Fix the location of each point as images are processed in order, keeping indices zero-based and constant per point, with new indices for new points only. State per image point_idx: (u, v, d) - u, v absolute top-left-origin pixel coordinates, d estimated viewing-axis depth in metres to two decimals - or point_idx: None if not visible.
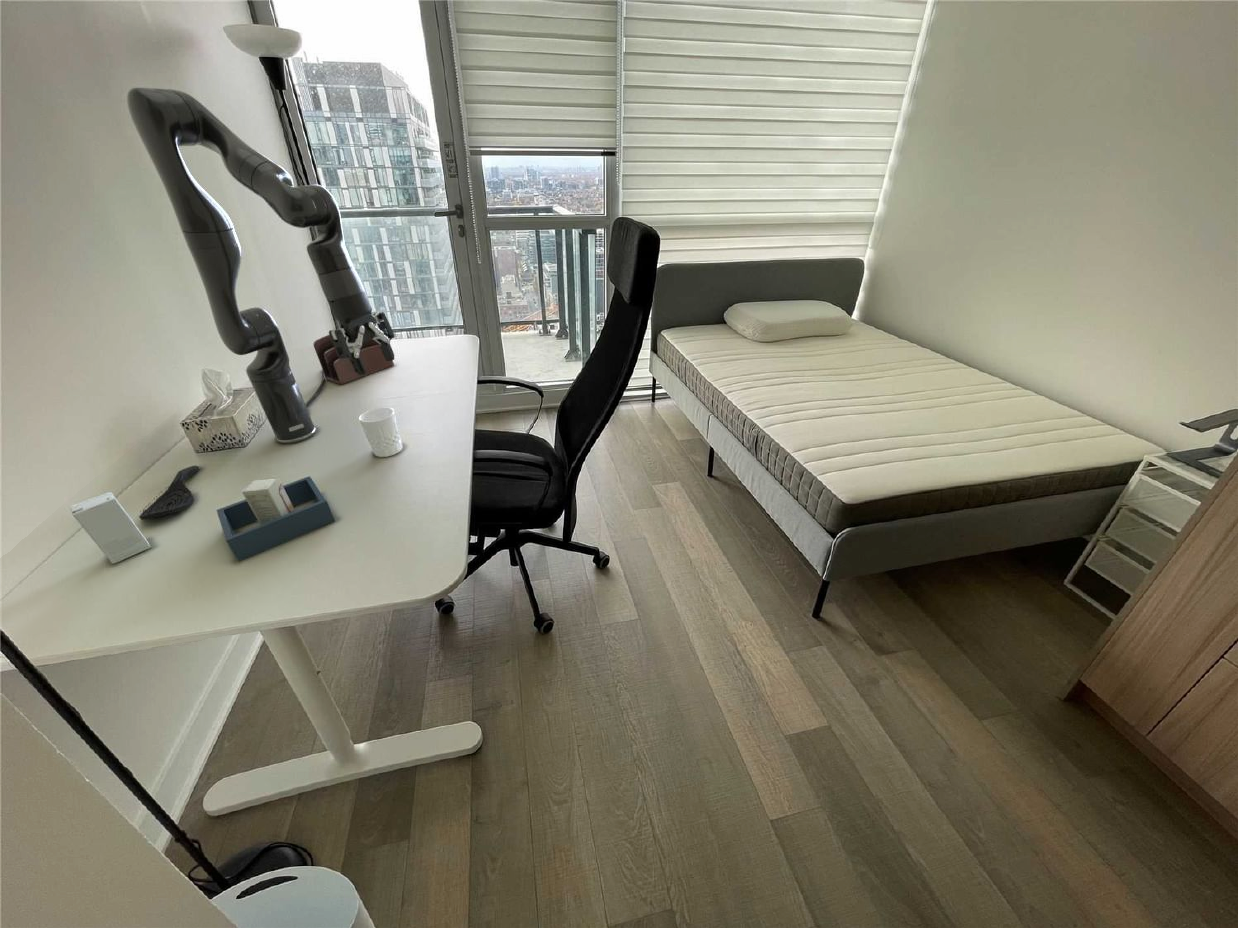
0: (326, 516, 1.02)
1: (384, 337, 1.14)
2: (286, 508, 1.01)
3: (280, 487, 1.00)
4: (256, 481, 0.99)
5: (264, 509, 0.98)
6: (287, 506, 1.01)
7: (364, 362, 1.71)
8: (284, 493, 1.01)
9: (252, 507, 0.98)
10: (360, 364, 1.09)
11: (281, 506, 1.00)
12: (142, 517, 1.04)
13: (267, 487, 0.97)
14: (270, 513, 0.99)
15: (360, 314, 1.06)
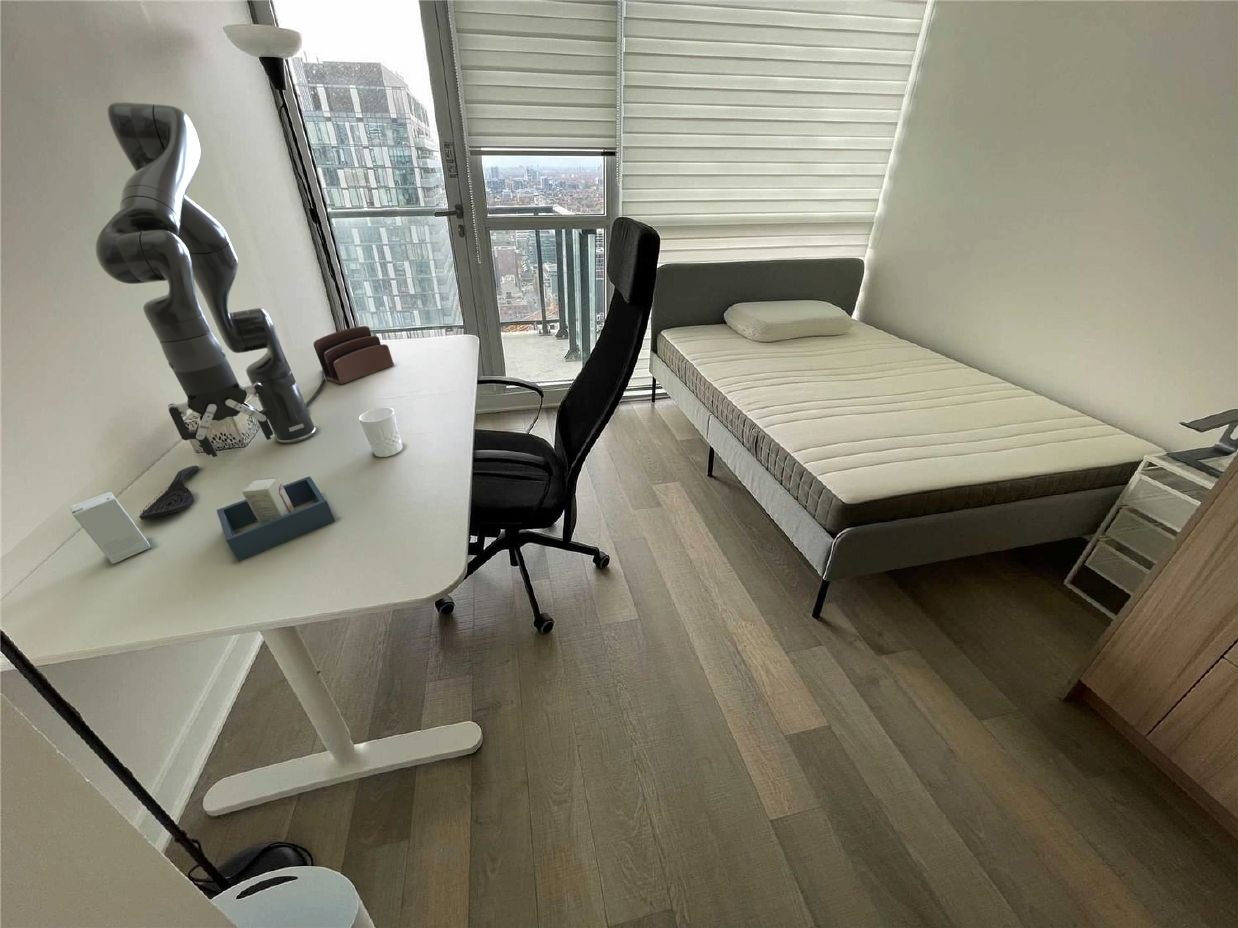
0: (326, 516, 1.02)
1: (256, 414, 0.92)
2: (286, 508, 1.01)
3: (280, 487, 1.00)
4: (256, 481, 0.99)
5: (264, 509, 0.98)
6: (287, 506, 1.01)
7: (364, 362, 1.71)
8: (284, 493, 1.01)
9: (252, 507, 0.98)
10: (207, 446, 0.89)
11: (281, 506, 1.00)
12: (142, 517, 1.04)
13: (267, 487, 0.97)
14: (270, 513, 0.99)
15: (203, 394, 0.84)
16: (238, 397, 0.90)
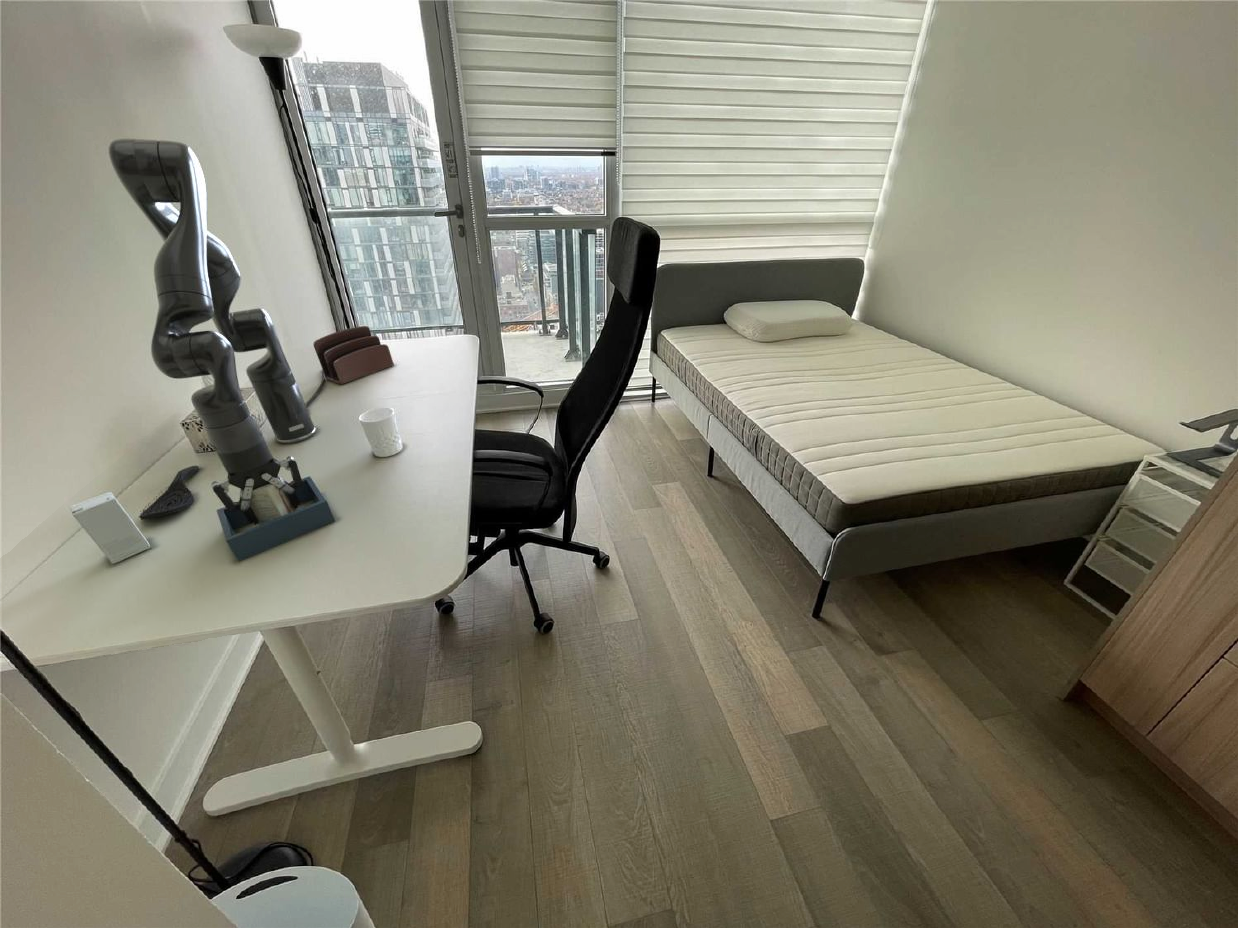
0: (326, 516, 1.02)
1: (286, 487, 1.00)
2: (286, 508, 1.01)
3: None
4: None
5: (264, 509, 0.98)
6: (287, 506, 1.01)
7: (364, 362, 1.71)
8: (284, 493, 1.01)
9: (252, 507, 0.98)
10: (250, 515, 0.98)
11: (281, 506, 1.00)
12: (142, 517, 1.04)
13: (267, 487, 0.97)
14: (270, 513, 0.99)
15: (243, 471, 0.92)
16: (273, 470, 0.97)
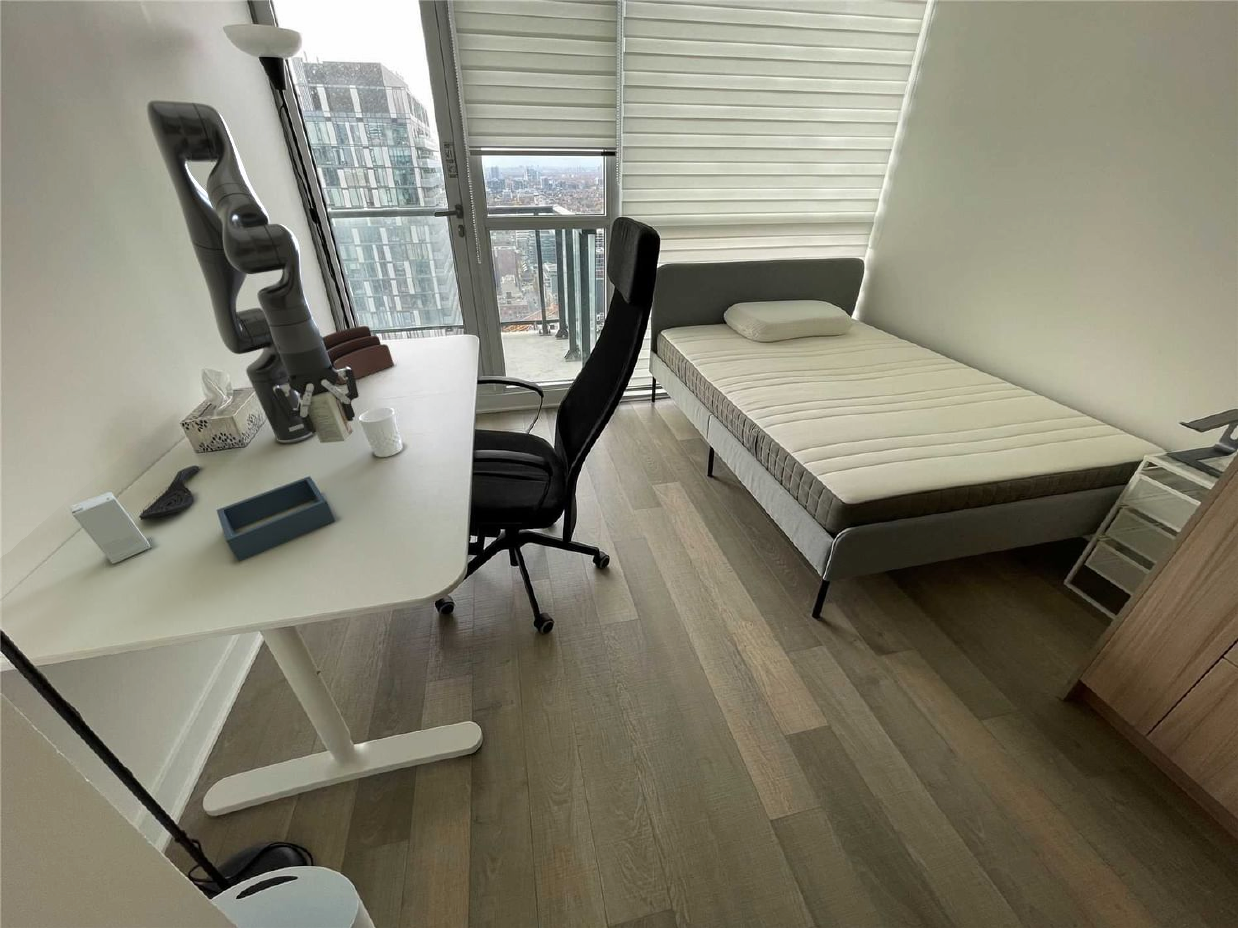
0: (326, 516, 1.02)
1: (342, 397, 1.01)
2: (342, 419, 1.02)
3: (337, 397, 1.01)
4: None
5: (322, 417, 0.99)
6: (343, 417, 1.02)
7: (364, 362, 1.71)
8: (340, 404, 1.02)
9: (310, 415, 0.99)
10: (308, 423, 0.99)
11: (338, 415, 1.00)
12: (142, 517, 1.04)
13: (325, 394, 0.97)
14: (327, 422, 1.00)
15: (305, 374, 0.93)
16: (331, 378, 0.98)
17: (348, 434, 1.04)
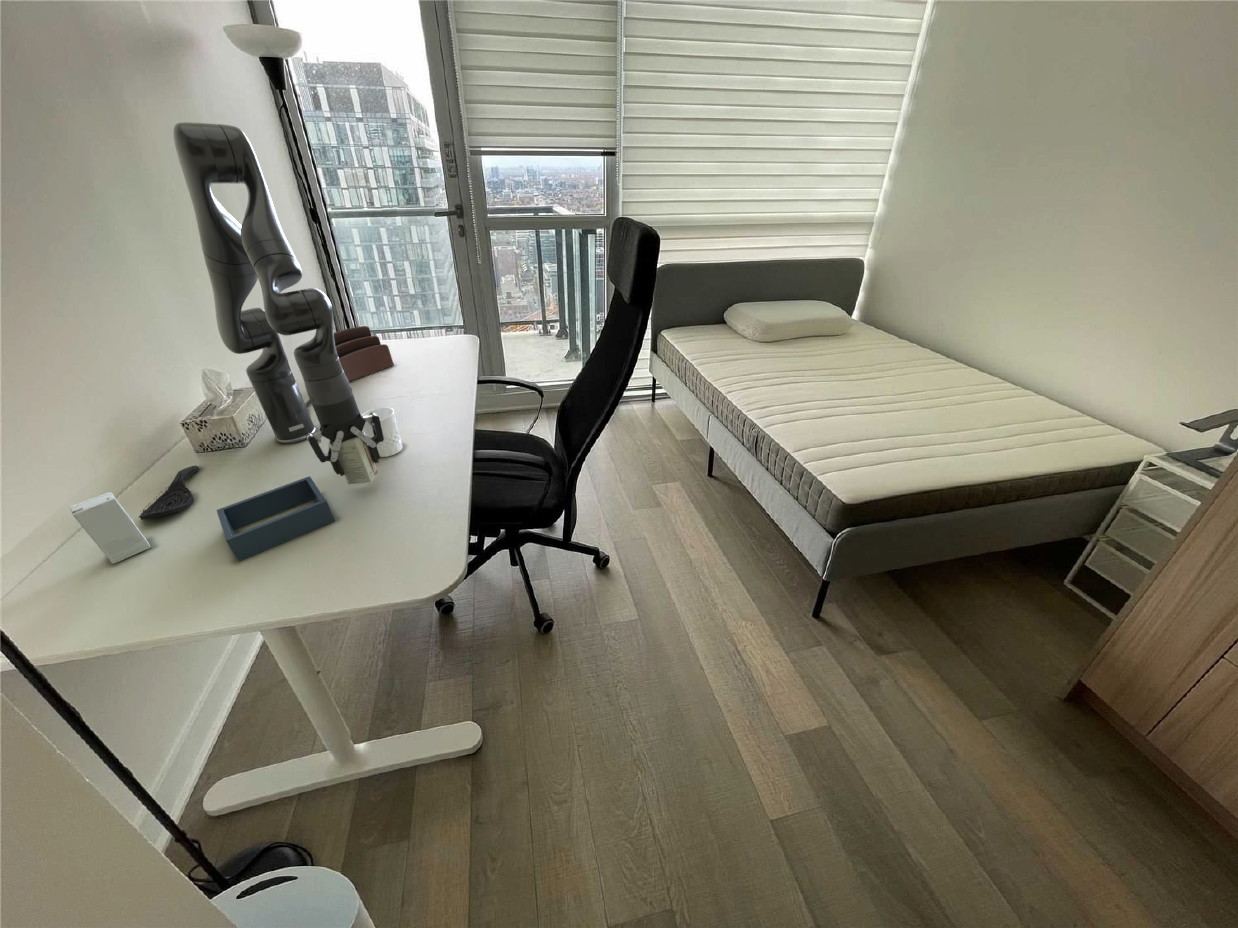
0: (326, 516, 1.02)
1: (369, 441, 1.07)
2: (368, 461, 1.08)
3: None
4: None
5: (350, 461, 1.06)
6: (369, 459, 1.09)
7: (364, 362, 1.71)
8: (367, 447, 1.08)
9: (339, 459, 1.05)
10: (337, 467, 1.05)
11: (365, 458, 1.07)
12: (142, 517, 1.04)
13: (354, 440, 1.04)
14: (355, 465, 1.06)
15: (336, 423, 1.00)
16: (359, 424, 1.05)
17: (374, 475, 1.10)
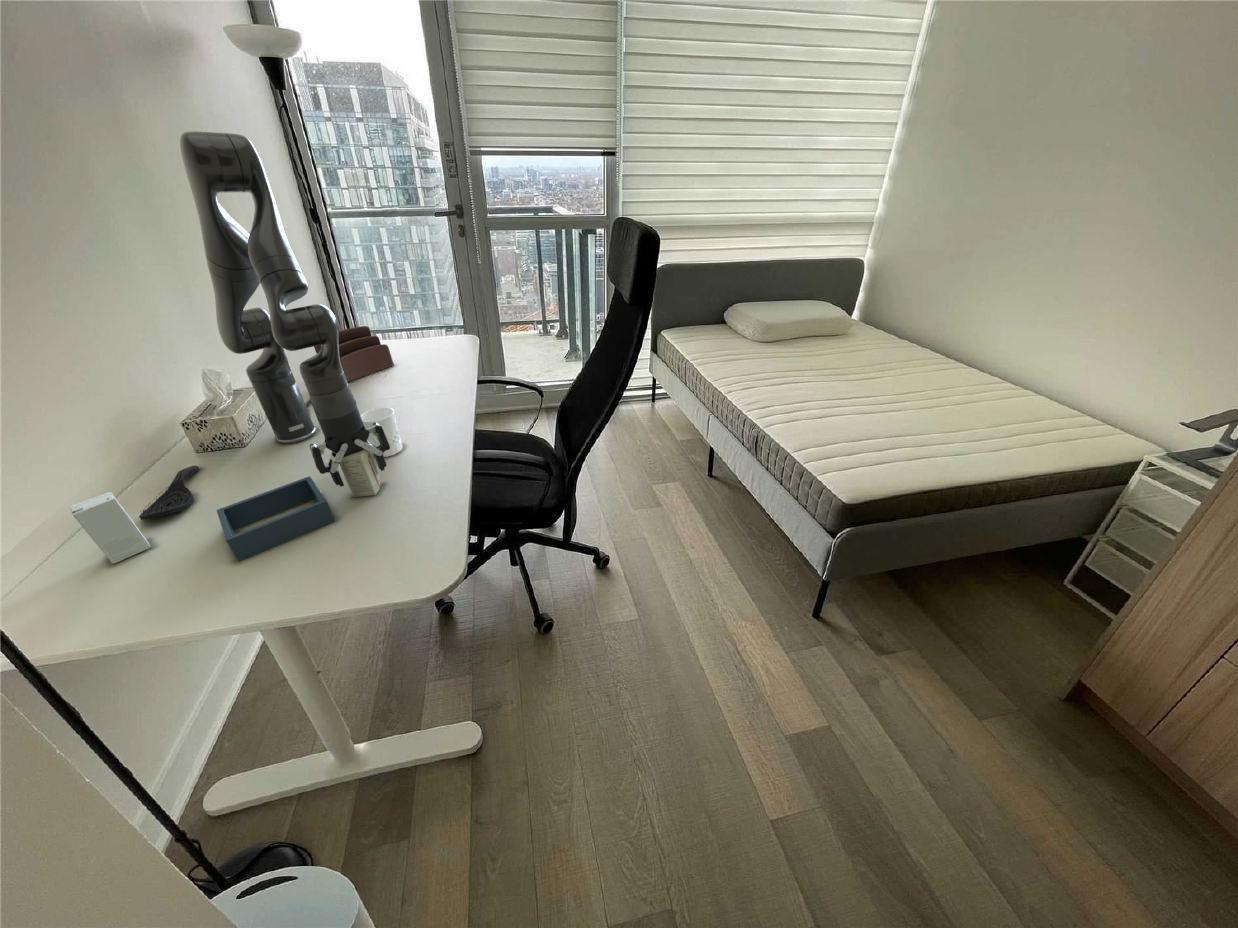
0: (326, 516, 1.02)
1: (375, 450, 1.09)
2: (373, 474, 1.10)
3: (369, 454, 1.09)
4: None
5: (355, 474, 1.08)
6: (374, 473, 1.11)
7: (364, 362, 1.71)
8: (372, 460, 1.10)
9: (345, 472, 1.07)
10: (337, 478, 1.06)
11: (370, 472, 1.09)
12: (142, 517, 1.04)
13: (359, 454, 1.06)
14: (360, 478, 1.08)
15: (340, 436, 1.01)
16: (363, 437, 1.06)
17: (378, 488, 1.12)
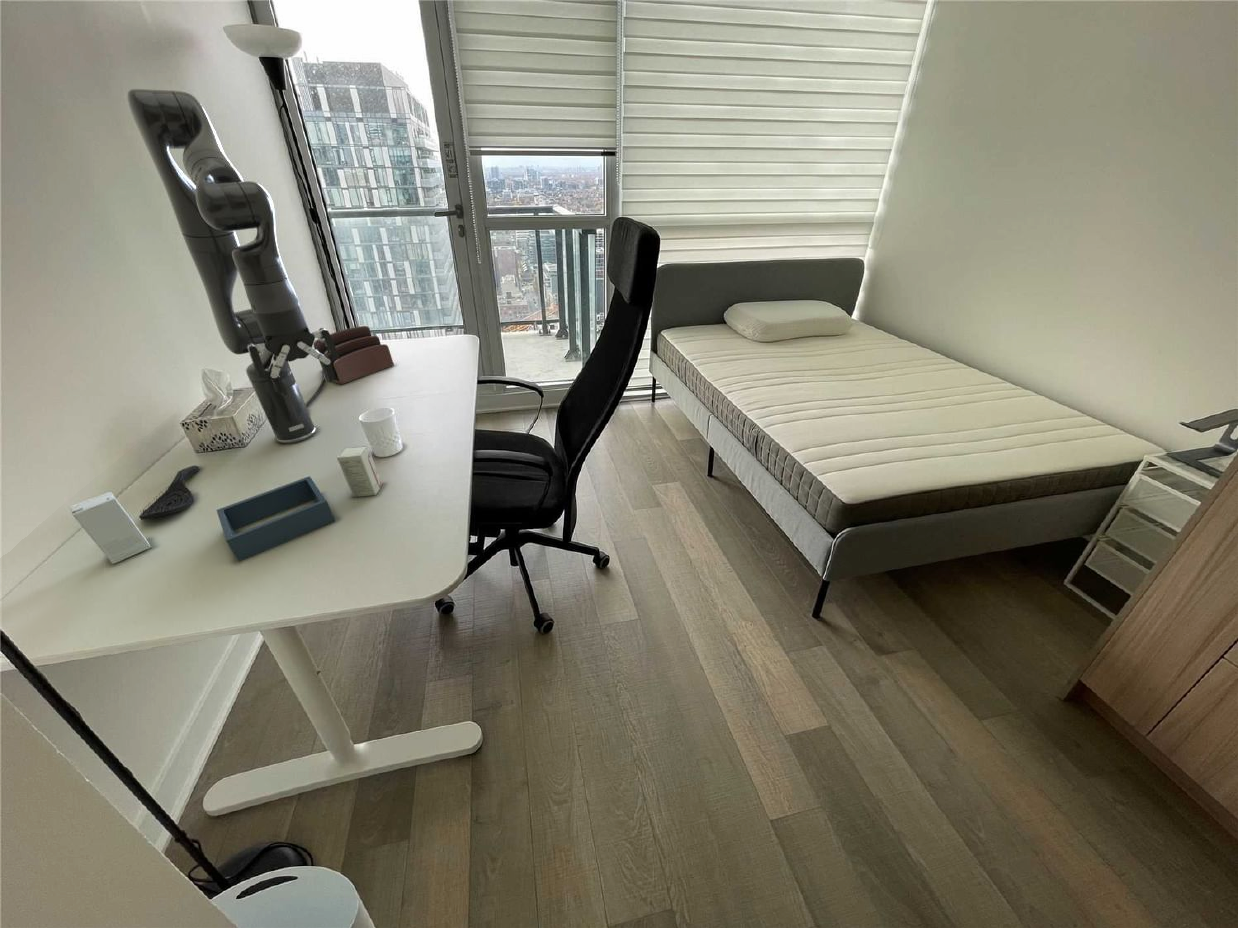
0: (326, 516, 1.02)
1: (322, 357, 1.01)
2: (373, 474, 1.10)
3: (369, 454, 1.09)
4: (347, 449, 1.08)
5: (355, 474, 1.08)
6: (374, 473, 1.11)
7: (364, 362, 1.71)
8: (372, 460, 1.10)
9: (345, 472, 1.07)
10: (279, 384, 0.98)
11: (370, 472, 1.09)
12: (142, 517, 1.04)
13: (359, 454, 1.06)
14: (360, 478, 1.08)
15: (280, 334, 0.93)
16: (307, 340, 0.99)
17: (378, 488, 1.12)
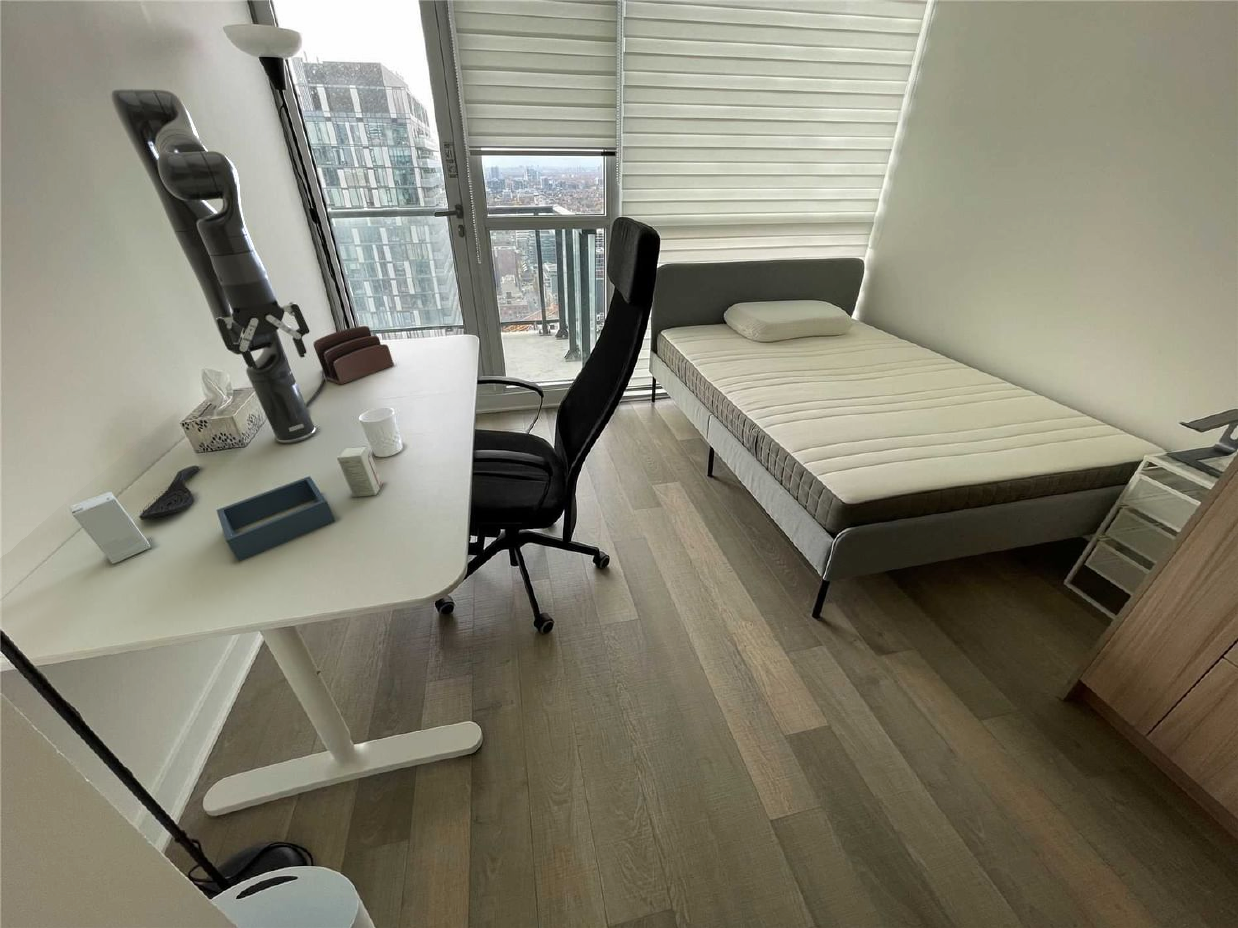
0: (326, 516, 1.02)
1: (292, 332, 1.01)
2: (373, 474, 1.10)
3: (369, 454, 1.09)
4: (347, 449, 1.08)
5: (355, 474, 1.08)
6: (374, 473, 1.11)
7: (364, 362, 1.71)
8: (372, 460, 1.10)
9: (345, 472, 1.07)
10: (248, 358, 0.98)
11: (370, 472, 1.09)
12: (142, 517, 1.04)
13: (359, 454, 1.06)
14: (360, 478, 1.08)
15: (248, 306, 0.94)
16: (277, 314, 0.99)
17: (378, 488, 1.12)
